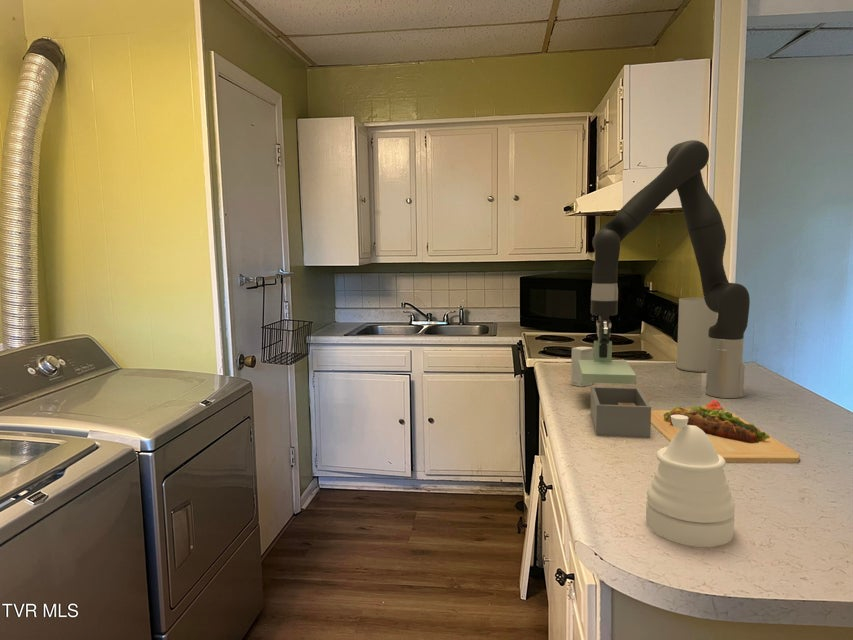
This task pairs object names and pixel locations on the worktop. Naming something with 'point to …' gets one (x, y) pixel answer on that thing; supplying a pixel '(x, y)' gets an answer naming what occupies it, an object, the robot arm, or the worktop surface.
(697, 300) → the cylinder vase
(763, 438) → the cutting board
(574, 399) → the worktop surface
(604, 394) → the tub
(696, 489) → the honey pot
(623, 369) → the lid
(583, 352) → the skincare box
